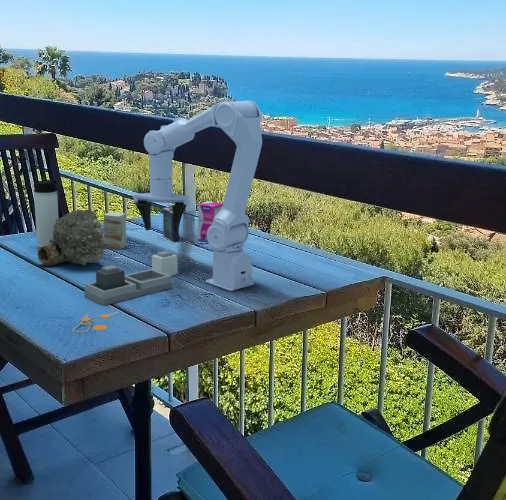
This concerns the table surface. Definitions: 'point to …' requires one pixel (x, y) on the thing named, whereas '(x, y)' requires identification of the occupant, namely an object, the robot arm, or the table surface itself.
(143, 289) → the socket strip
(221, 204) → the supplement box
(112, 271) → the twin plug
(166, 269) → the grey plug
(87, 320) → the key chain
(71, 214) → the grey brown rough lump
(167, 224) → the flask
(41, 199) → the travel mug
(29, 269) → the table surface
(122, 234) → the skincare box
